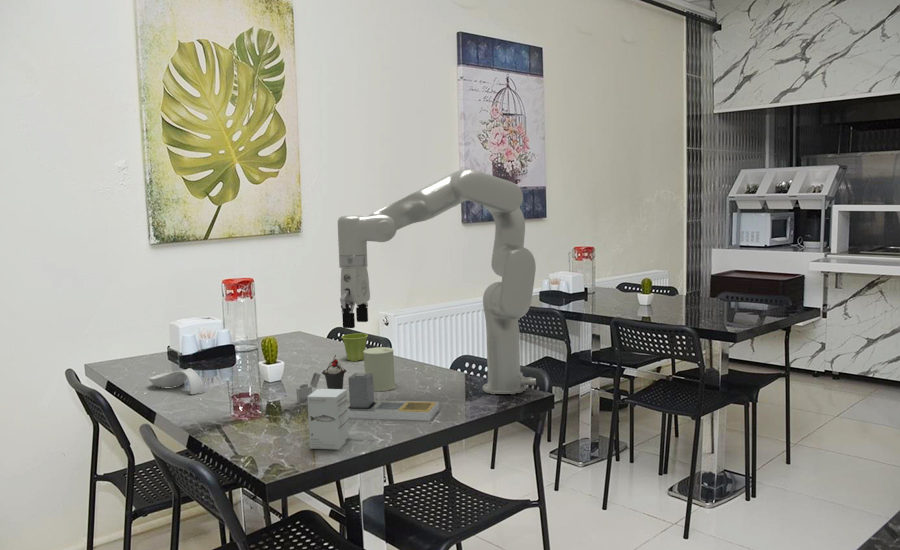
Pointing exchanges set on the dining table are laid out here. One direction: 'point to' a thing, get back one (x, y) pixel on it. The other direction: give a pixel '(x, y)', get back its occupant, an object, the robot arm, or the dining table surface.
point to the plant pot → (355, 346)
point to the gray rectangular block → (361, 391)
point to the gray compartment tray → (396, 410)
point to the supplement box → (328, 418)
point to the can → (380, 367)
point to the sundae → (334, 375)
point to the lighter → (307, 389)
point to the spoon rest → (179, 380)
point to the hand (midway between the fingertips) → (355, 324)
